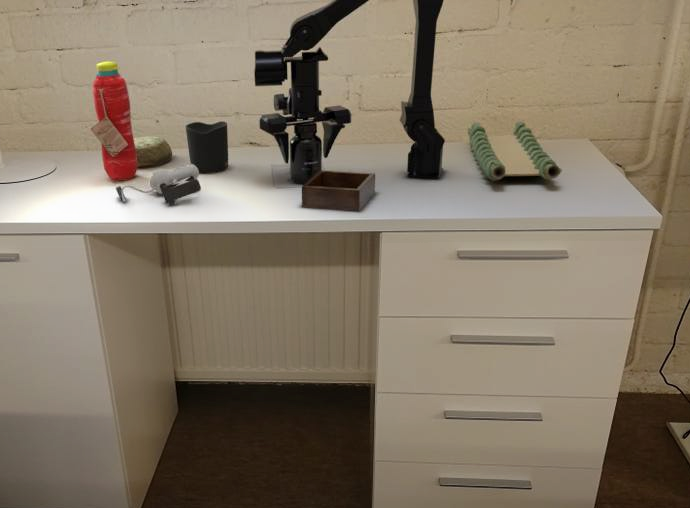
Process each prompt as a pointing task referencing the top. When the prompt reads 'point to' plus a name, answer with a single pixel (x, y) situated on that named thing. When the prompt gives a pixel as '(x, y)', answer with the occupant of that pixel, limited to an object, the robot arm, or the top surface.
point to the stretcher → (511, 154)
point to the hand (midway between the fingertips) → (306, 160)
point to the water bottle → (114, 122)
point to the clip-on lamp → (171, 183)
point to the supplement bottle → (305, 153)
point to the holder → (338, 190)
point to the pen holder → (208, 146)
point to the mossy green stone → (152, 151)
